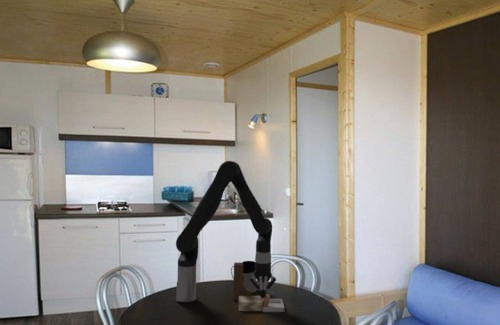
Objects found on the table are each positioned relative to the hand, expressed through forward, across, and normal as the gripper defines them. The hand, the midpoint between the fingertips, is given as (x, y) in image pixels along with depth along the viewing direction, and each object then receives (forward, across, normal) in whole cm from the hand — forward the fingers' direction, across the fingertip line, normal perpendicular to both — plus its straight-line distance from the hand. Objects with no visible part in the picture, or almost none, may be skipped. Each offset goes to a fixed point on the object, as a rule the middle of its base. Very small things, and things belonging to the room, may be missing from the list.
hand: (262, 297), depth 182 cm
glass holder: (+5, -8, +25) cm, 27 cm away
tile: (+1, +1, 0) cm, 1 cm away
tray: (+5, +5, 0) cm, 7 cm away
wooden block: (+5, -9, +11) cm, 15 cm away
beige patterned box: (+5, -6, 0) cm, 7 cm away
